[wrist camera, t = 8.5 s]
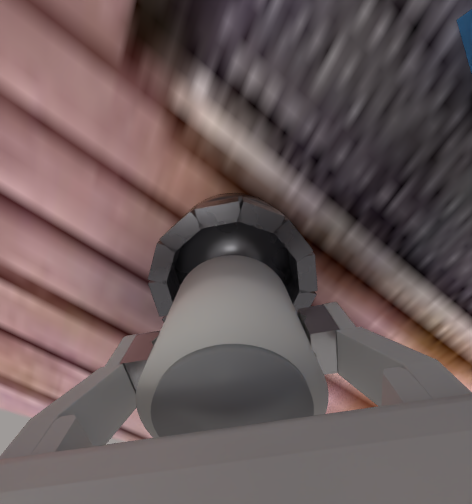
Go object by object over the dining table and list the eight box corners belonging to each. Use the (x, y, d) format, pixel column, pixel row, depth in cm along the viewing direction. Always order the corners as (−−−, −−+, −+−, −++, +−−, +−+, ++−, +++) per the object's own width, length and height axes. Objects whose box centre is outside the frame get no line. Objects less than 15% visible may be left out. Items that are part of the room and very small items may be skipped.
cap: (281, 245, 10) (328, 318, 5) (293, 343, 12) (336, 466, 7) (162, 266, 11) (100, 354, 6) (191, 358, 12) (163, 487, 7)
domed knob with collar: (287, 181, 16) (310, 187, 11) (299, 297, 19) (321, 340, 14) (157, 206, 16) (126, 222, 12) (189, 315, 20) (175, 362, 15)
